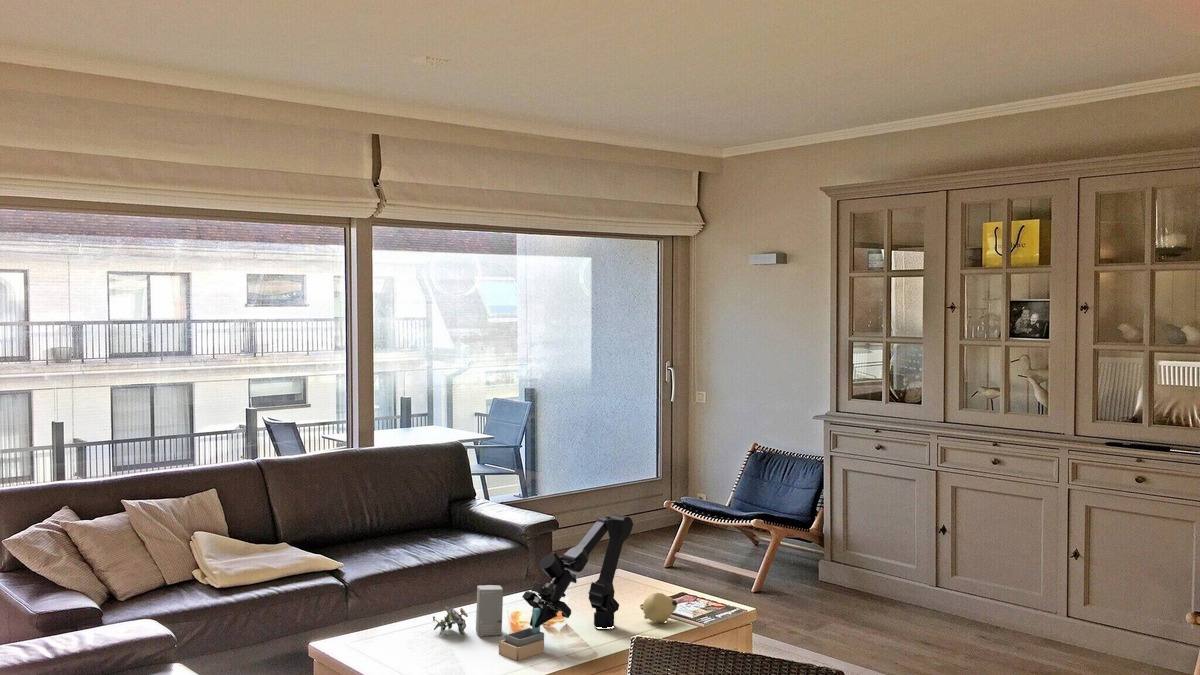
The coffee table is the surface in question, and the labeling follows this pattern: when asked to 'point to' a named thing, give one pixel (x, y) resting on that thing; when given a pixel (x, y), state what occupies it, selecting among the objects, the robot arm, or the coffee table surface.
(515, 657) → the tan open box
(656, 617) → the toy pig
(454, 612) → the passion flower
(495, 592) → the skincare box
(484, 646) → the coffee table surface
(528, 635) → the grey box with post
